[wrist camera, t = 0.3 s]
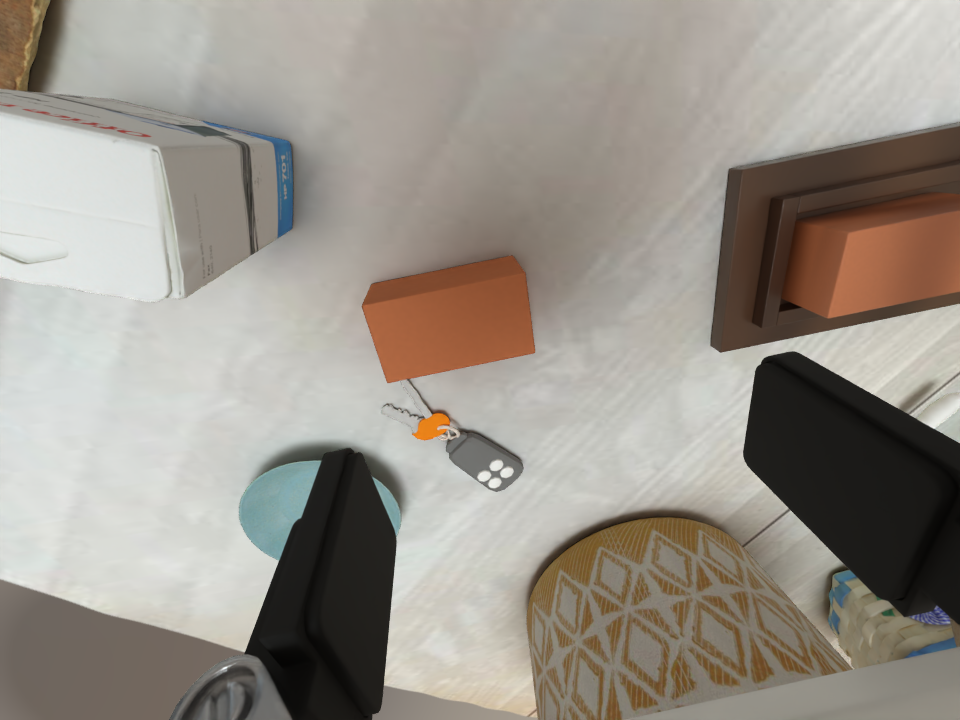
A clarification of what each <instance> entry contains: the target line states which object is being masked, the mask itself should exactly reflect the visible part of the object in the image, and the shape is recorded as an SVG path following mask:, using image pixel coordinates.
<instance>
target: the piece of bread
mask: <svg viewBox="0 0 960 720" xmlns="http://www.w3.org/2000/svg"><path fill="white" fill-rule="evenodd" d="M50 1H51V0H0V89H8V90H19V91H27V90H28V81H29V71H30V67H31V65H32V63H33V61H34V59H35V56H36V54H37V49H38V42H39V38H40V34H41V30H42V23H43V20H44V18H45V15H46V10H47V7H48V5H49V3H50Z"/></svg>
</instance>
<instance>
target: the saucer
mask: <svg viewBox="0 0 960 720" xmlns="http://www.w3.org/2000/svg"><path fill="white" fill-rule="evenodd" d="M320 463H321V461H320V460H312V461H300V462H293V463H289V464H285V465H282V466H279V467H276V468H273V469H271V470H269V471H267V472H265V473H264V474H262V475H261V476H259V477H258V478H256V479H255V480H254V481H253V482H252V483H251V484H250V485H249V486H248V487H247V489H246V490H245V492H244V494H243V496H242V498H241V501H240V505H239V520H240V523H241V526H242V527H243V530H244V532H245V533H246V535H247V537H248V538H249V539H250V540H251V542H252V543H253V544H254V545H255V546H256V547H258V548H259V549H260V550H261V551H263V552H264V553H266V554H267V555H269V556H271V557H273V558H275V559H277V560H280V557H281V554H282V552H283V549H284V546H285V544H286V541H287V538H288V536H289V533H290V530H291V528H292V526H293V524H294V522H296V521H297V520H298V519H300V518H301V517H302V514H303V511H304V508H305V506H306V503H307V500H308V497H309V494H310V492H311V489H312V486H313V483H314V480H315V477H316V475H317V472H318V469H319V466H320ZM372 478H373V480H374V483H375V485H376V487H377V490H378V492H379V494H380V497H381V499H382V501H383V504H384V506H385V508H386V511H387V513H388V515H389V518H390V520H391V522H392V525H393V527H394V530H395V534H396V537H397V535H398V532H399V529H400V527H401V514H400V509H399V506H398V503H397V501H396V500H395V498H394V496H393V495H392V493H391V492H390V491H389V490H388V489H387V488H386V487H385V486H384V485H383V484H382V483H381V482H380V481H378V480H377V479H376V478H374V477H372Z"/></svg>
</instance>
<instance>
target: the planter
mask: <svg viewBox="0 0 960 720" xmlns="http://www.w3.org/2000/svg"><path fill="white" fill-rule="evenodd" d="M527 631H528V639H529V648H530V656H531V665H532V673H533V682H534V690H535V699H536V707H537V716H538V720H626V719H630V718H635V717H639V716H644V715H648V714H653V713H657V712H662V711H666V710H671V709H675V708H680V707H684V706H689V705H693V704H698V703H702V702H707V701H712V700H716V699H721V698H725V697H730V696H734V695H739V694H743V693H748V692H752V691H757V690H762V689H766V688H771V687H775V686H780V685H784V684H789V683H794V682H798V681H803V680H807V679H812V678H816V677H821V676H826V675H830V674H835V673H839V672H844V671H849V670H853V669H852V668H851V667H850V665H849V664H848V663H847V662H846V661H845V660H844V659H843V658H842V657H841V655H840V654H839V653H838V652H837V651H836V650H835V649H834V648H833V647H832V645H831V644H830V643H829V642H828V641H827V640H826V639H825V638H824V637H823V635H822V634H821V633H820V632H819V631H818V630H817V629H816V628H815V627H814V625H813V624H812V623H811V622H810V621H809V620H808V619H807V618H806V617H805V615H804V614H803V613H802V612H801V611H800V610H799V609H798V608H797V607H796V605H795V604H794V603H793V602H792V601H791V600H790V599H789V598H788V597H787V595H786V594H785V593H784V592H783V591H782V590H781V589H780V588H779V587H778V585H777V584H776V583H775V582H774V581H773V580H772V579H771V578H770V577H769V575H768V574H767V573H766V572H765V571H764V570H763V569H762V568H761V567H760V566H759V564H758V563H757V562H756V561H755V560H754V559H753V558H752V557H751V556H750V554H749V553H748V552H747V551H746V550H745V549H744V548H743V547H742V546H741V545H740V544H739V543H738V542H737V541H736V540H734V539H733V538H732V537H731V536H729V535H728V534H726V533H725V532H723V531H721V530H719V529H717V528H715V527H713V526H710V525H708V524H705V523H701V522H698V521H694V520H689V519H683V518H671V517H659V518H646V519H639V520H634V521H629V522H625V523H621V524H618V525H614V526H611V527H609V528H606V529H603V530H601V531H598V532H596V533H594V534H592V535H590V536H588V537H586V538H584V539H582V540H581V541H579V542H577V543H576V544H574V545H573V546H571V547H570V548H569V549H567V550H566V551H565V552H563V553H562V554H561V555H560V556H559V557H558V558H557V559H555V560H554V561H553V562H552V563H551V564H550V565H549V567H548V568H547V569H546V570H545V571H544V573H543V574H542V575H541V577H540V579H539V580H538V582H537V584H536V586H535V588H534V590H533V592H532V594H531V597H530V601H529V604H528V609H527Z"/></svg>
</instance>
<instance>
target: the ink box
mask: <svg viewBox="0 0 960 720" xmlns="http://www.w3.org/2000/svg"><path fill="white" fill-rule="evenodd" d="M292 222H293V168H292V153H291V145H290V143H289V142H288V141H287V140H283V139H278V138H274V137H270V136H265V135H261V134H257V133H252V132H248V131H244V130H239V129H235V128H231V127H227V126H222V125H218V124H214V123H209V122H205V121H200V120H195V119H191V118H188V117H184V116H180V115H175V114H171V113H167V112H163V111H159V110H155V109H151V108H147V107H143V106H138V105H134V104H130V103H126V102H122V101H118V100H114V99H105V98H93V97H84V96H74V95H62V94H50V93H39V92H29V91H19V90H8V89H0V278H5V279H10V280H14V281H18V282H23V283H30V284H37V285H45V286H57V287H63V288H69V289H75V290H79V291H83V292H89V293H95V294H101V295H107V296H114V297H122V298H130V299H135V300H139V301H147V302H159V301H161V300H163V299H165V298H173V299H183V298H187V297H188V296H189V295H191V294H193V293H194V292H195V291H197V290H198V289H200V288H201V287H203V286H205V285H206V284H207V283H209V282H211V281H213V280H214V279H216V278H217V277H219V276H220V275H222V274H224V273H225V272H226V271H228V270H229V269H231V268H232V267H234V266H235V265H237V264H238V263H240V262H242V261H243V260H245V259H246V258H248V257H249V256H250V255H252V254H254V253H255V252H257V251H259V250H260V249H262V248H263V247H265V246H266V245H268V244H269V243H271V242H273V241H274V240H276V239H277V238H279V237H280V236H282V235H284V234H285V233H287V232H288V231H290V230H291V229H292Z"/></svg>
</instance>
